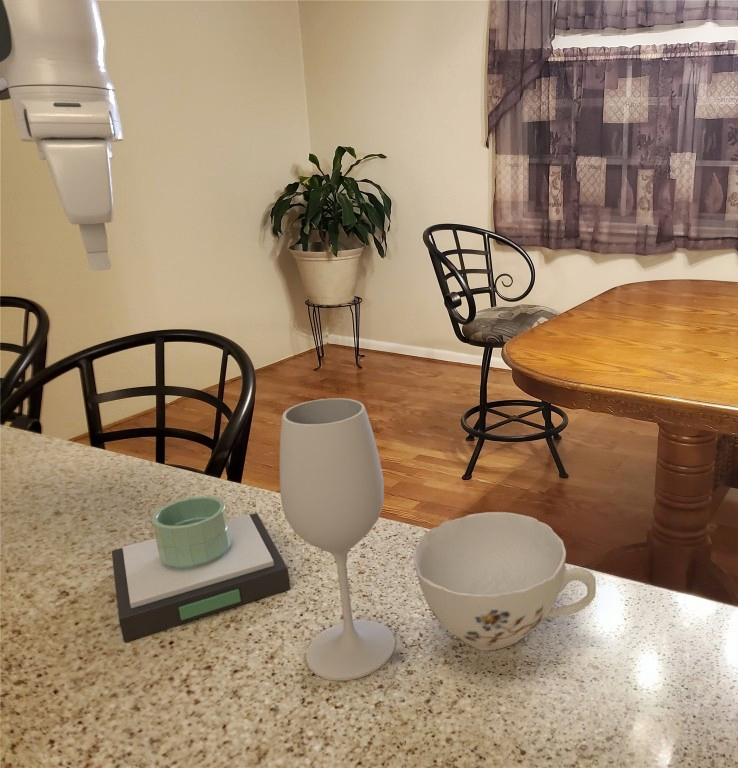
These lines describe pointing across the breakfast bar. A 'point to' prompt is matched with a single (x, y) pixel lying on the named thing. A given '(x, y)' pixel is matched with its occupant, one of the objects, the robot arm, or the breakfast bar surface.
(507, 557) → the teacup
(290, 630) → the breakfast bar surface
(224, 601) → the scale
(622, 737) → the breakfast bar surface
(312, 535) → the wineglass
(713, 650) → the breakfast bar surface
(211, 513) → the bowl
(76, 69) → the robot arm
